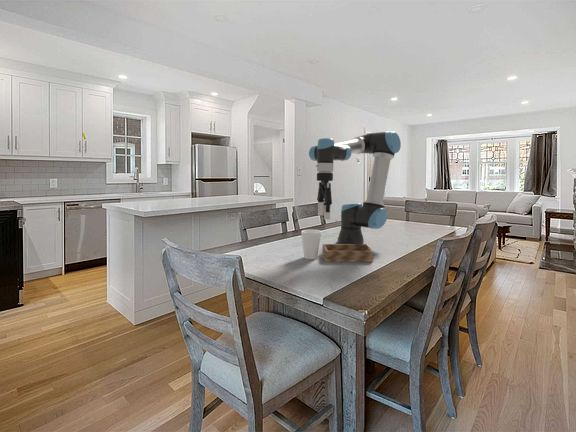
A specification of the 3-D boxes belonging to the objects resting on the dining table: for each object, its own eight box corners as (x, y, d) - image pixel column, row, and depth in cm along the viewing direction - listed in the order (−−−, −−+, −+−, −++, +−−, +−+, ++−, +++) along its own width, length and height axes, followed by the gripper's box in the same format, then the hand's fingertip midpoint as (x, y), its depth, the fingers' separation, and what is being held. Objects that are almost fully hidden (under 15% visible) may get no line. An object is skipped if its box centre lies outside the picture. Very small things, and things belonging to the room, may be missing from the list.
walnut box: (325, 261, 156) (326, 251, 155) (322, 253, 171) (322, 244, 170) (372, 261, 156) (373, 251, 155) (365, 253, 171) (365, 244, 170)
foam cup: (298, 259, 160) (298, 232, 158) (304, 254, 169) (304, 229, 167) (317, 261, 157) (318, 233, 155) (322, 256, 165) (323, 230, 164)
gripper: (312, 172, 168) (311, 214, 171) (322, 172, 144) (321, 221, 146) (326, 172, 169) (325, 214, 172) (339, 172, 145) (338, 221, 147)
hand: (323, 217), depth 159 cm, fingers open, 13 cm apart
